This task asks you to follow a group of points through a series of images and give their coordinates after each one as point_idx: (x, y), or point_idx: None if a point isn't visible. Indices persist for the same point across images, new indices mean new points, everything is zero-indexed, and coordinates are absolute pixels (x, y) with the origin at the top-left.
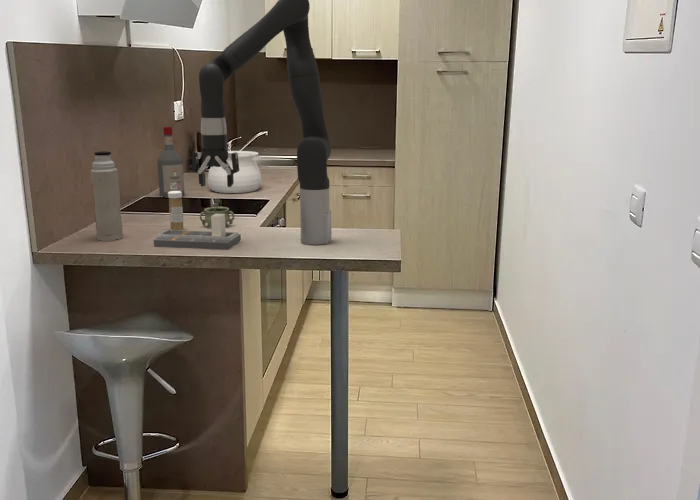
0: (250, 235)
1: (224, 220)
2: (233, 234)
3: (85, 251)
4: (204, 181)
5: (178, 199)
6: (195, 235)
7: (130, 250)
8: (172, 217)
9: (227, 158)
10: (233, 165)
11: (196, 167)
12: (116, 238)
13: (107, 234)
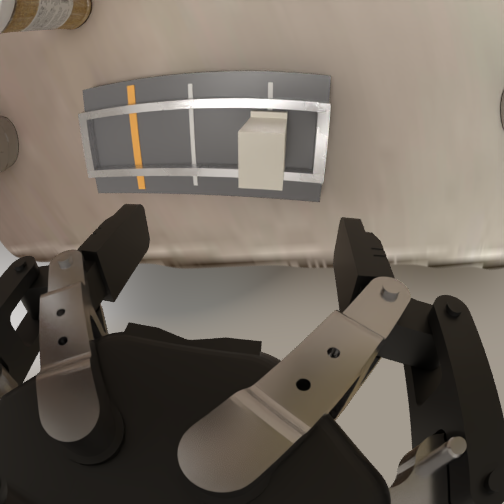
0: (339, 4)
1: (285, 135)
2: (323, 139)
3: (36, 241)
4: (132, 235)
5: (14, 15)
6: (195, 168)
7: (88, 226)
8: (44, 29)
9: (363, 459)
10: (420, 408)
11: (28, 300)
12: (15, 153)
13: (3, 169)
